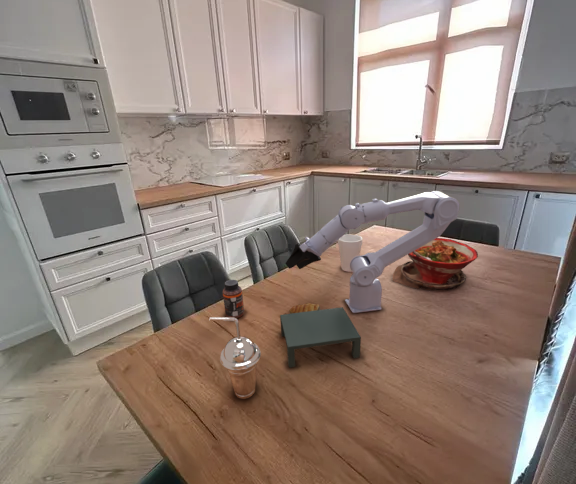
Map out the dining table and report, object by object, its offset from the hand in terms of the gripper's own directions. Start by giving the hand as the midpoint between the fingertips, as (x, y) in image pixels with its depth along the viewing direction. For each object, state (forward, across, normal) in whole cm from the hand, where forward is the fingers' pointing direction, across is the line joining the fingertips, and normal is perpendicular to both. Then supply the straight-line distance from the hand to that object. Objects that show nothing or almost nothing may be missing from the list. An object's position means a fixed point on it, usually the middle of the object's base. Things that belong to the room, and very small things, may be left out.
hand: (292, 266), depth 96 cm
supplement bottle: (+24, +4, +1) cm, 24 cm away
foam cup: (-6, -38, +5) cm, 39 cm away
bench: (+5, +7, +23) cm, 25 cm away
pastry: (+7, -3, +14) cm, 16 cm away
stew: (-27, -39, +27) cm, 55 cm away
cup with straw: (+18, +27, +22) cm, 39 cm away
